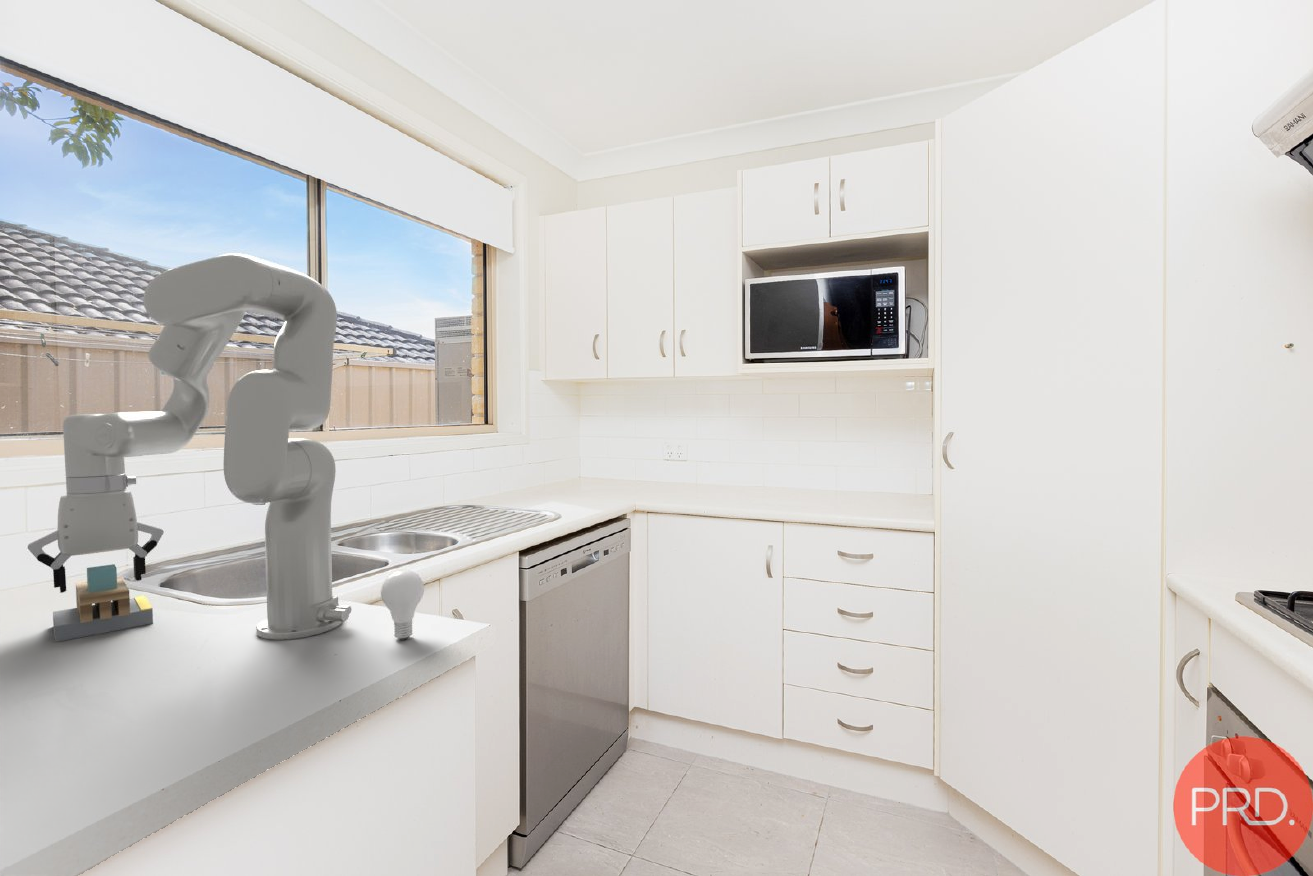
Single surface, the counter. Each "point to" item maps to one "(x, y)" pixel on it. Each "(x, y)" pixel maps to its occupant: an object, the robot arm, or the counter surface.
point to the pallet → (102, 601)
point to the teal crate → (102, 578)
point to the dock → (71, 626)
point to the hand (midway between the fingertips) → (101, 584)
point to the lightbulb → (402, 599)
